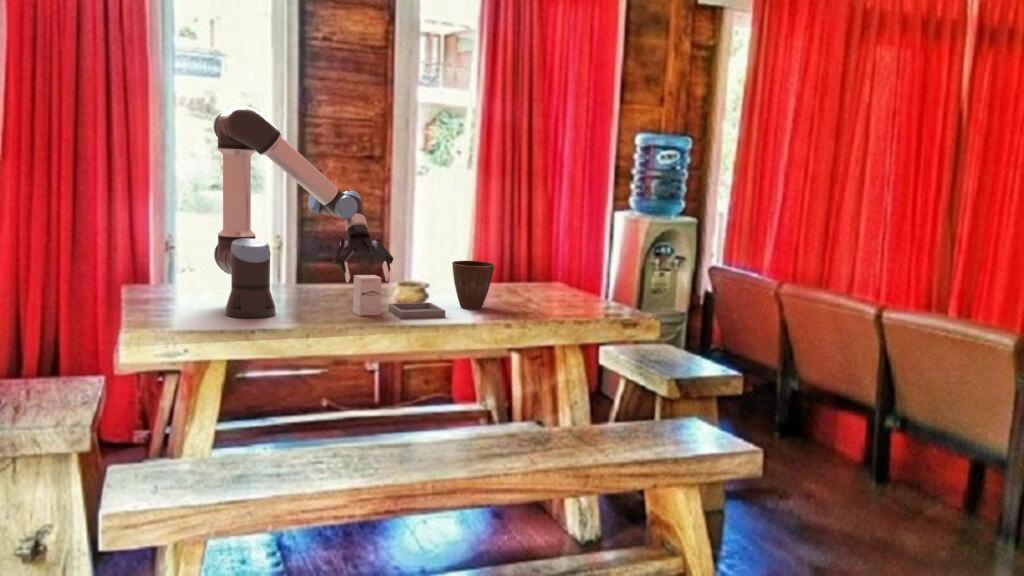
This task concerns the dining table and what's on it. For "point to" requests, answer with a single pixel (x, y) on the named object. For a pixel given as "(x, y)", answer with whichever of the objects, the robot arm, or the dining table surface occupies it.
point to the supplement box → (367, 295)
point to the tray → (416, 310)
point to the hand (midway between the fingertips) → (368, 279)
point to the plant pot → (472, 282)
